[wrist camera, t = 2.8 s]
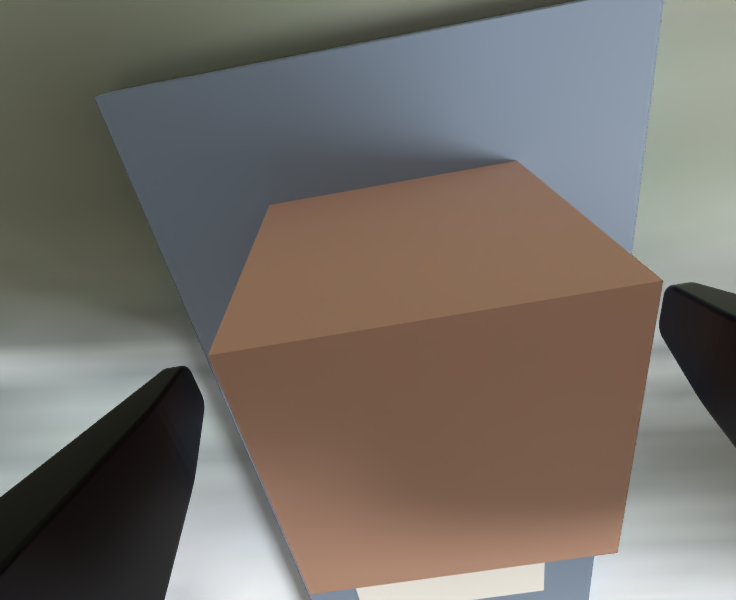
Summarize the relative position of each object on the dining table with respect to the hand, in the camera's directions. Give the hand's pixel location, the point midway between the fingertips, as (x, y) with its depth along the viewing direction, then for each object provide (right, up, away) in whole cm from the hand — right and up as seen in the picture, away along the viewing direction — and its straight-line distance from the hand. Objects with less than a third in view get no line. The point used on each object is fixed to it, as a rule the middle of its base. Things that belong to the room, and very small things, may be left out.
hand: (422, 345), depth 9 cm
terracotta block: (0, +1, +2) cm, 2 cm away
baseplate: (+1, -7, +7) cm, 10 cm away
